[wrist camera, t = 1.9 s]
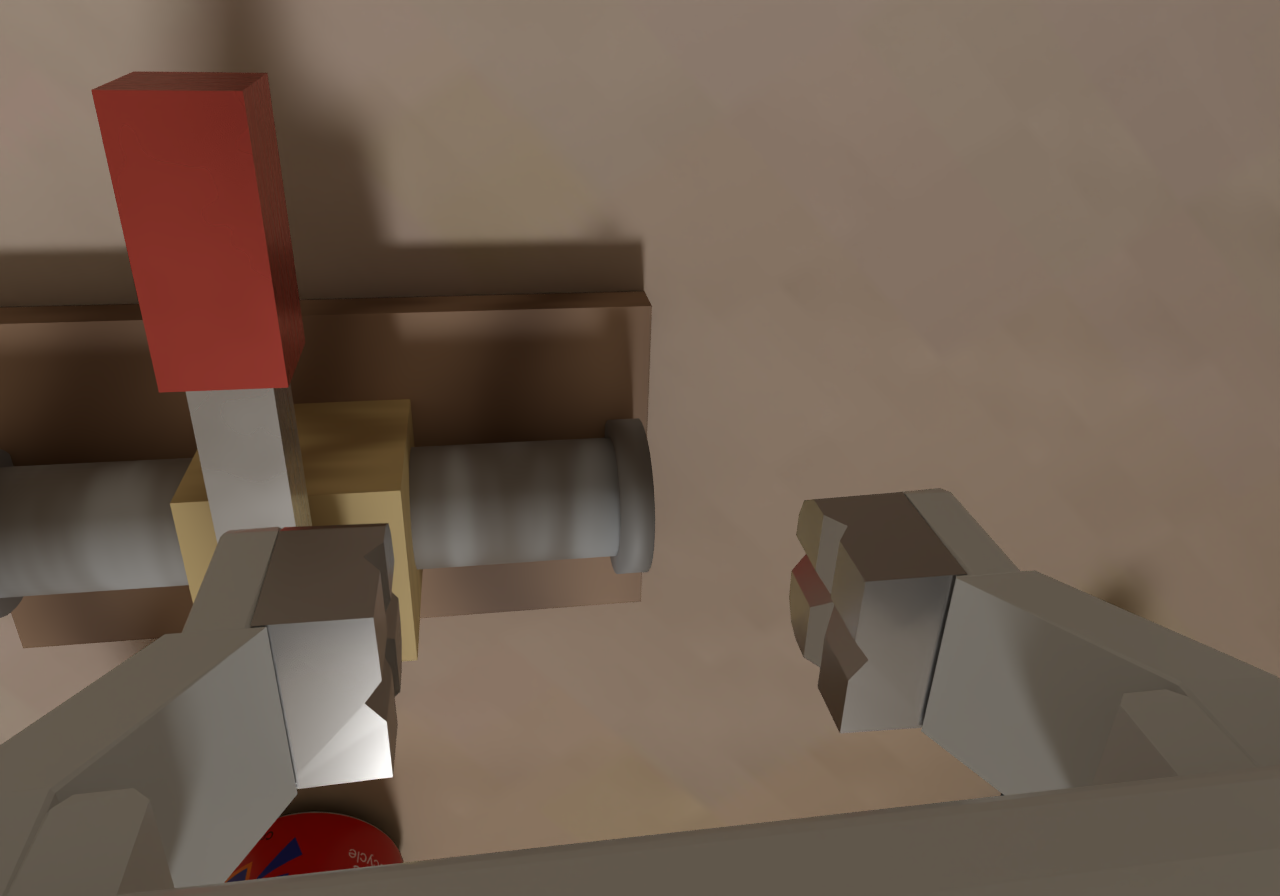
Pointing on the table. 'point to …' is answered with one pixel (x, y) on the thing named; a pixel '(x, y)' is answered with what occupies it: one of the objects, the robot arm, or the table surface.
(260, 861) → the soda can
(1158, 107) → the table surface
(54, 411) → the valve mount
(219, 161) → the valve lever
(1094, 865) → the robot arm
